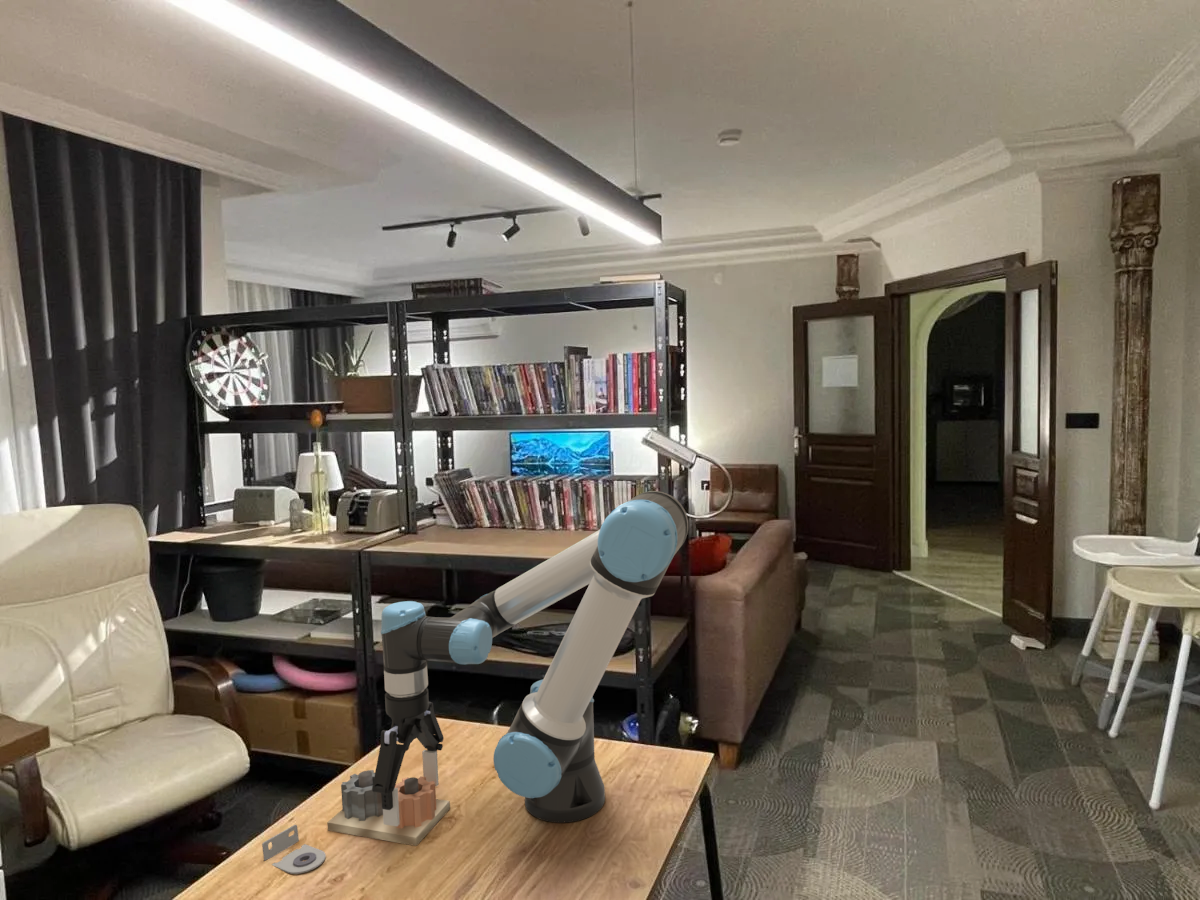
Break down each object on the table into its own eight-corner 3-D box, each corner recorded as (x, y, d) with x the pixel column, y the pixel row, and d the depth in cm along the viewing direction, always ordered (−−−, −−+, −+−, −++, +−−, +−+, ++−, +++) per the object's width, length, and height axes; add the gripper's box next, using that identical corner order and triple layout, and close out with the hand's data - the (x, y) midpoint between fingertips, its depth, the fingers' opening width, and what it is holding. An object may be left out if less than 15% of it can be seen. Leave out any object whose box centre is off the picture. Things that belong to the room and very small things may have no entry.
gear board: (450, 808, 144) (448, 767, 143) (416, 845, 132) (414, 801, 132) (367, 795, 149) (364, 756, 148) (327, 830, 138) (325, 787, 137)
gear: (438, 800, 144) (437, 775, 143) (432, 826, 135) (431, 799, 135) (392, 804, 143) (391, 778, 142) (384, 830, 135) (382, 802, 134)
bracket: (300, 882, 124) (298, 861, 124) (263, 862, 130) (261, 843, 129) (334, 860, 129) (333, 841, 129) (297, 842, 135) (296, 823, 135)
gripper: (423, 663, 150) (428, 767, 152) (345, 716, 126) (353, 839, 128) (458, 666, 148) (463, 772, 150) (385, 721, 124) (392, 846, 126)
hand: (412, 803), depth 139 cm, fingers open, 13 cm apart
